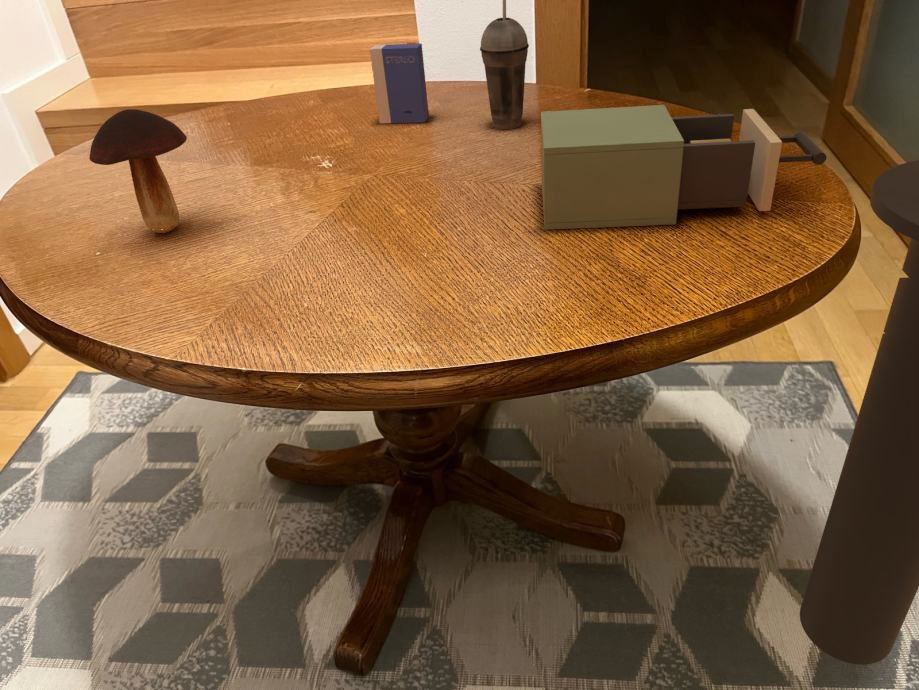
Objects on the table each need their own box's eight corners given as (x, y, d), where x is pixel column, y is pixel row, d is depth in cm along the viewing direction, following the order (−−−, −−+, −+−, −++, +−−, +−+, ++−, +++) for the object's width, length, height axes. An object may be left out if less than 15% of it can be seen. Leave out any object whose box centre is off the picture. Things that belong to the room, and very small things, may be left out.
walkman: (429, 117, 121) (421, 40, 114) (425, 122, 119) (417, 45, 112) (383, 118, 123) (373, 42, 116) (379, 123, 120) (368, 46, 114)
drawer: (792, 170, 89) (804, 105, 85) (824, 208, 80) (839, 138, 76) (632, 177, 91) (636, 115, 87) (645, 216, 82) (650, 148, 78)
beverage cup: (478, 131, 113) (469, -11, 102) (491, 116, 119) (484, -20, 108) (524, 132, 111) (520, -12, 100) (535, 117, 117) (532, -21, 105)
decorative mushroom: (106, 253, 87) (57, 128, 79) (141, 214, 96) (101, 99, 88) (195, 248, 86) (156, 121, 78) (222, 209, 95) (190, 92, 87)
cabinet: (658, 181, 92) (664, 104, 87) (676, 224, 82) (684, 140, 76) (541, 186, 93) (540, 111, 88) (544, 230, 83) (543, 147, 78)
